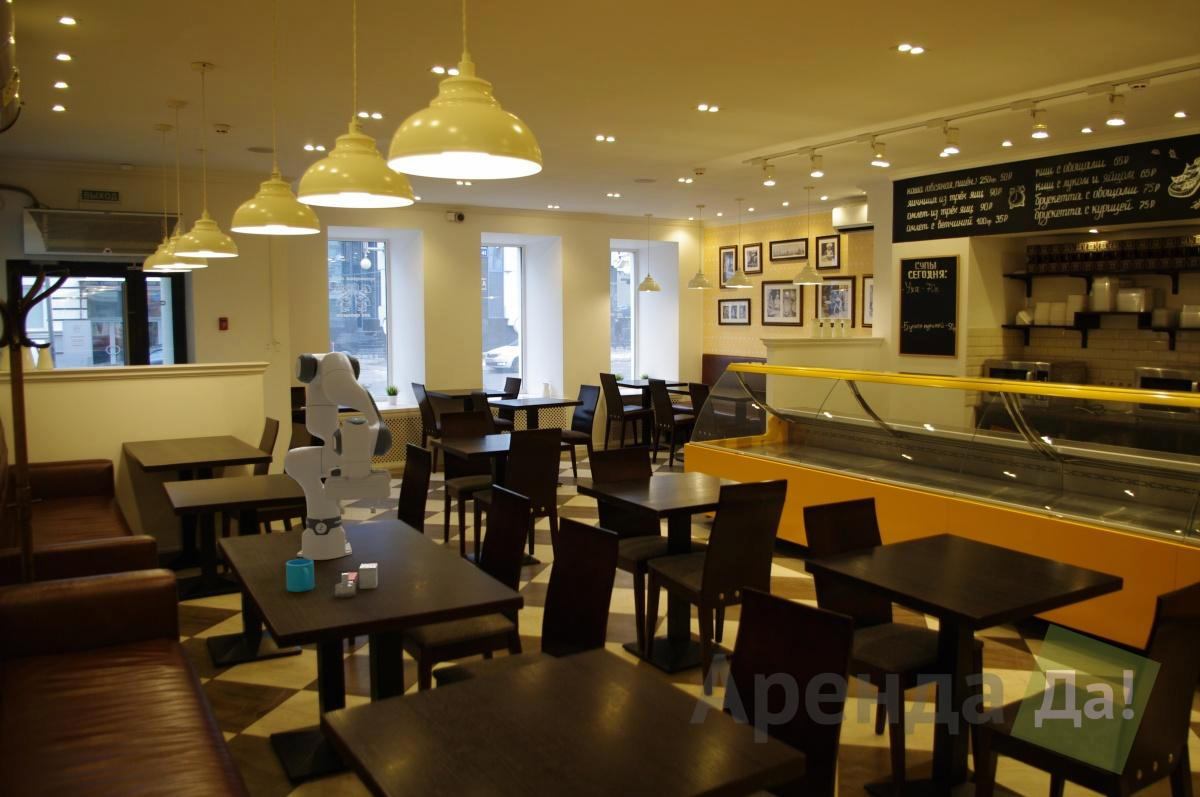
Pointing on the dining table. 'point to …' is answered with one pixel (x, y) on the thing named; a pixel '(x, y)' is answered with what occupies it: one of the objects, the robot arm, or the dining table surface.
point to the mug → (300, 575)
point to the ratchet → (346, 585)
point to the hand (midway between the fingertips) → (357, 513)
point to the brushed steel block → (368, 576)
